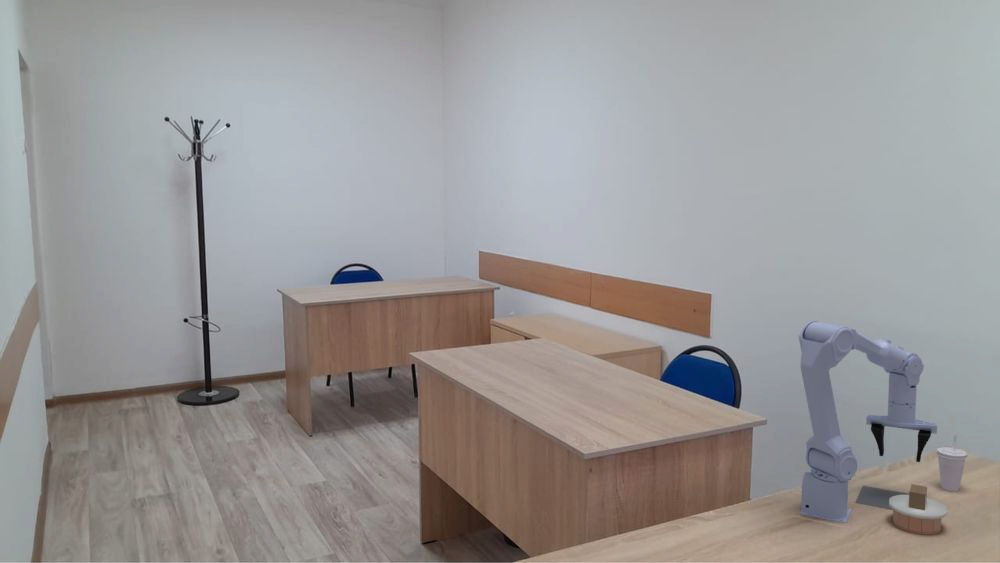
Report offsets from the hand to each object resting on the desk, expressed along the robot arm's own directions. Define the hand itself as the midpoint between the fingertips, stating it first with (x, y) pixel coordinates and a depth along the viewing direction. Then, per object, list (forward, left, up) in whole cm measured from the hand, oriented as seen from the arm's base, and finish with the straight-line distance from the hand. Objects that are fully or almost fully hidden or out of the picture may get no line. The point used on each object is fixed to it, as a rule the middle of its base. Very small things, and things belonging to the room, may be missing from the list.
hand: (899, 457), depth 172 cm
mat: (-2, -3, -10) cm, 11 cm away
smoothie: (+10, +12, -10) cm, 19 cm away
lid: (+5, -15, -6) cm, 17 cm away
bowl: (+5, -15, -10) cm, 19 cm away
